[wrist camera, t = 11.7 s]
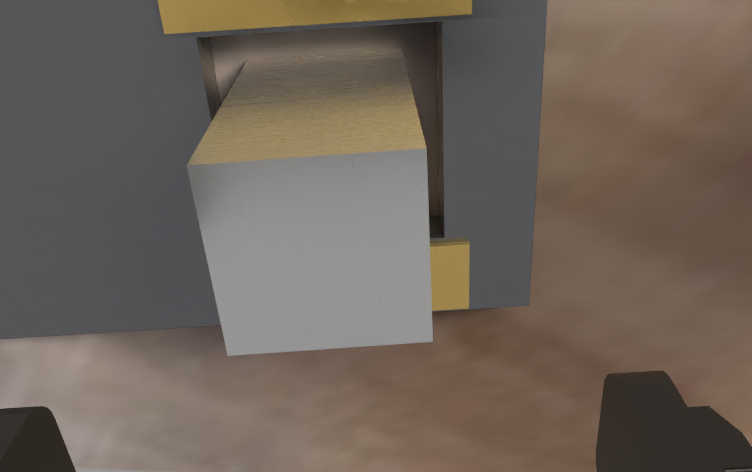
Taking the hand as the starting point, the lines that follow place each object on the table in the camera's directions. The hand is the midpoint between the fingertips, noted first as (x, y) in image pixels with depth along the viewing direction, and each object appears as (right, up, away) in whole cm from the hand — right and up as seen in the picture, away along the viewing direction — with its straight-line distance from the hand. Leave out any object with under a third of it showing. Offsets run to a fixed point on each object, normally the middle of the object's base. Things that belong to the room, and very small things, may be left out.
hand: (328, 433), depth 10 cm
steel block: (-1, +6, +11) cm, 13 cm away
